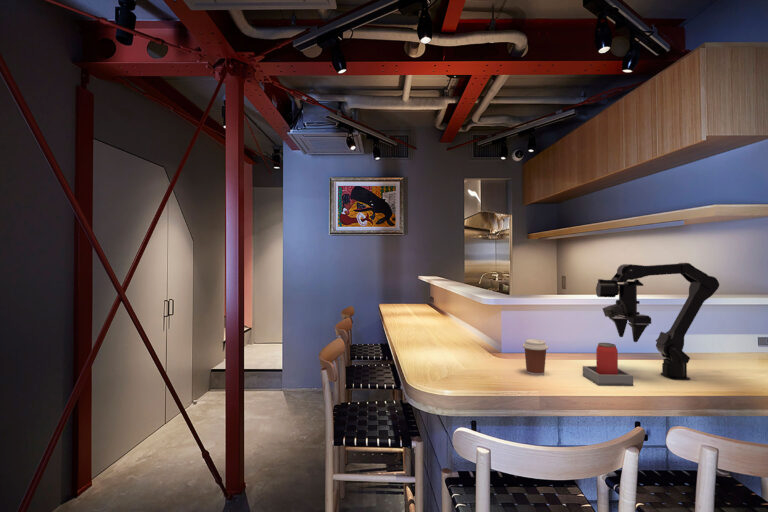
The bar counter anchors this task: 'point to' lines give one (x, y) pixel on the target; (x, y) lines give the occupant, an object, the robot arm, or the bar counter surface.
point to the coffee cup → (535, 356)
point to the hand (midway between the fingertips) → (628, 339)
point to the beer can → (607, 359)
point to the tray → (608, 377)
